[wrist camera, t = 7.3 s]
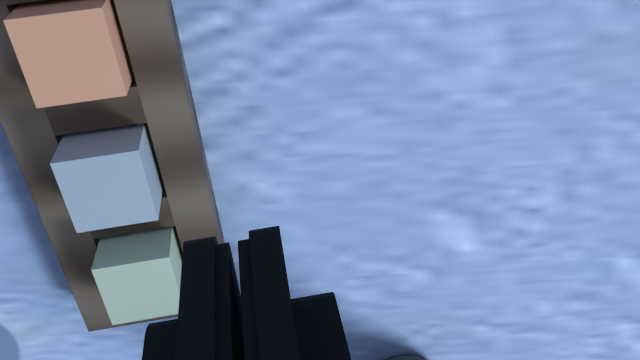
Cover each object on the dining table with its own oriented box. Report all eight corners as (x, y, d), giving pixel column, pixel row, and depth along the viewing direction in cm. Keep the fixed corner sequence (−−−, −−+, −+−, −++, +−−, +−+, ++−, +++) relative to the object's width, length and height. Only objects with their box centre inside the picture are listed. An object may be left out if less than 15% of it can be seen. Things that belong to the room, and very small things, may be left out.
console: (-47, -52, 33) (-69, -41, 30) (154, -76, 34) (149, -67, 31) (95, 303, 47) (88, 331, 44) (233, 280, 48) (234, 306, 45)
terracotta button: (26, -3, 34) (3, 20, 30) (113, -14, 34) (101, 7, 31) (54, 78, 37) (36, 108, 33) (135, 67, 37) (126, 95, 33)
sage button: (102, 228, 42) (91, 270, 38) (173, 217, 42) (169, 257, 38) (121, 281, 44) (112, 325, 41) (187, 270, 45) (185, 312, 41)
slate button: (66, 128, 37) (49, 163, 34) (145, 117, 38) (138, 150, 34) (89, 193, 40) (76, 233, 36) (163, 182, 41) (158, 220, 37)
